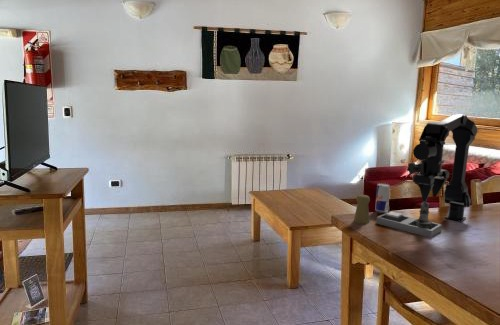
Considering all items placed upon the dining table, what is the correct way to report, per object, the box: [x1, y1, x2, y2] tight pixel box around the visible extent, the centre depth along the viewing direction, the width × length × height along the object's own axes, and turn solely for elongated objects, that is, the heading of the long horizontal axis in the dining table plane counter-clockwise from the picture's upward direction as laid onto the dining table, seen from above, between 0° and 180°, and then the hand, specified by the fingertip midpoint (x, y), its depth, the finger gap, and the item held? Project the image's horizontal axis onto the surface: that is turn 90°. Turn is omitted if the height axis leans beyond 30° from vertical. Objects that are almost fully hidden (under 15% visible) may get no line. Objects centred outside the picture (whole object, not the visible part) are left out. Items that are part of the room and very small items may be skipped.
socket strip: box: [375, 211, 443, 238], centre depth 160 cm, size 10×21×3 cm, turn 46°
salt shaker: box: [415, 200, 433, 229], centre depth 155 cm, size 6×6×12 cm
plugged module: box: [385, 211, 404, 222], centre depth 163 cm, size 5×5×4 cm
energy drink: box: [374, 183, 391, 214], centre depth 179 cm, size 5×5×12 cm
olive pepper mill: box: [353, 194, 371, 225], centre depth 165 cm, size 6×6×11 cm
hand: (429, 198), depth 153 cm, fingers open, 9 cm apart
